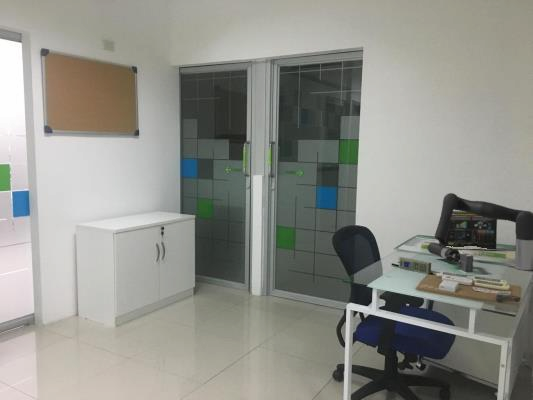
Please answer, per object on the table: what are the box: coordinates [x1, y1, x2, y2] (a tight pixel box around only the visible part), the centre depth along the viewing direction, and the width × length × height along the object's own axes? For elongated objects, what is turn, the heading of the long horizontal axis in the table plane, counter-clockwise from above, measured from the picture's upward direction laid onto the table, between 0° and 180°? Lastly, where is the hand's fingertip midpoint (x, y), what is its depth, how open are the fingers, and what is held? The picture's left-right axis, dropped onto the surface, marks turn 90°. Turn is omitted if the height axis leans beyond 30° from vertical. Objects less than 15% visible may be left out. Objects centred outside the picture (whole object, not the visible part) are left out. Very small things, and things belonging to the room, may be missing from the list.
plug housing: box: [459, 253, 474, 272], centre depth 252 cm, size 6×4×9 cm, turn 7°
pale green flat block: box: [440, 263, 483, 277], centre depth 258 cm, size 22×14×5 cm, turn 7°
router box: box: [446, 210, 498, 250], centre depth 322 cm, size 36×11×27 cm, turn 81°
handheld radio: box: [391, 256, 432, 275], centre depth 260 cm, size 7×3×25 cm
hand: (465, 260), depth 253 cm, fingers open, 8 cm apart
